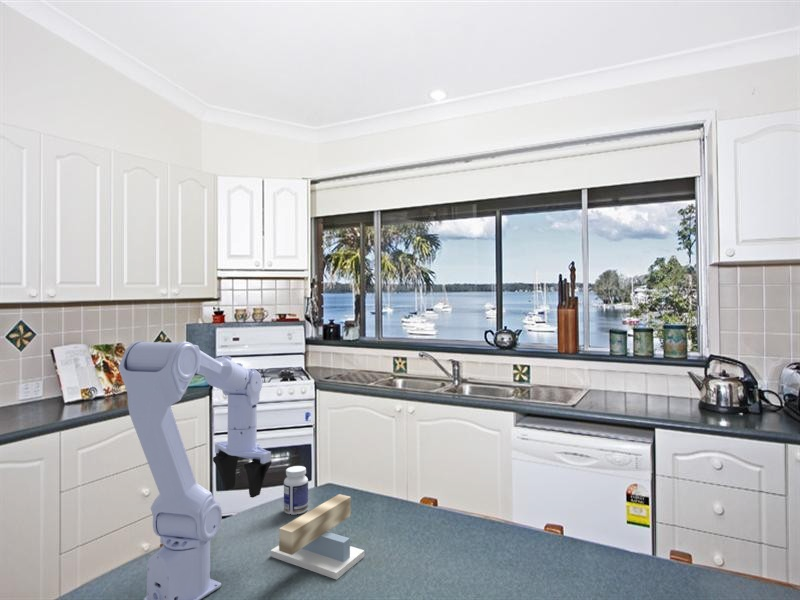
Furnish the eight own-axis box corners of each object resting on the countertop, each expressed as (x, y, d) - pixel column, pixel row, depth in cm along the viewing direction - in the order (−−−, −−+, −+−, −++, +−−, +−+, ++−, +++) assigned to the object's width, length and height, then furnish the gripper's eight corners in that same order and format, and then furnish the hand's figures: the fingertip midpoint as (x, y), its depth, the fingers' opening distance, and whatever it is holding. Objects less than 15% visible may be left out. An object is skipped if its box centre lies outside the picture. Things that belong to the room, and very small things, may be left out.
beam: (291, 554, 84) (291, 532, 84) (279, 550, 86) (279, 528, 86) (350, 515, 100) (350, 496, 100) (339, 512, 101) (339, 494, 101)
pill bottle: (311, 506, 116) (311, 465, 116) (304, 516, 111) (304, 473, 111) (288, 505, 117) (288, 464, 117) (280, 515, 111) (280, 472, 111)
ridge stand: (336, 579, 85) (336, 552, 85) (270, 556, 93) (270, 531, 93) (364, 556, 93) (364, 531, 93) (301, 537, 101) (301, 514, 101)
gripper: (281, 426, 98) (281, 492, 98) (233, 418, 106) (233, 479, 105) (255, 434, 92) (255, 504, 92) (206, 425, 100) (206, 490, 99)
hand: (241, 492), depth 98 cm, fingers open, 7 cm apart
